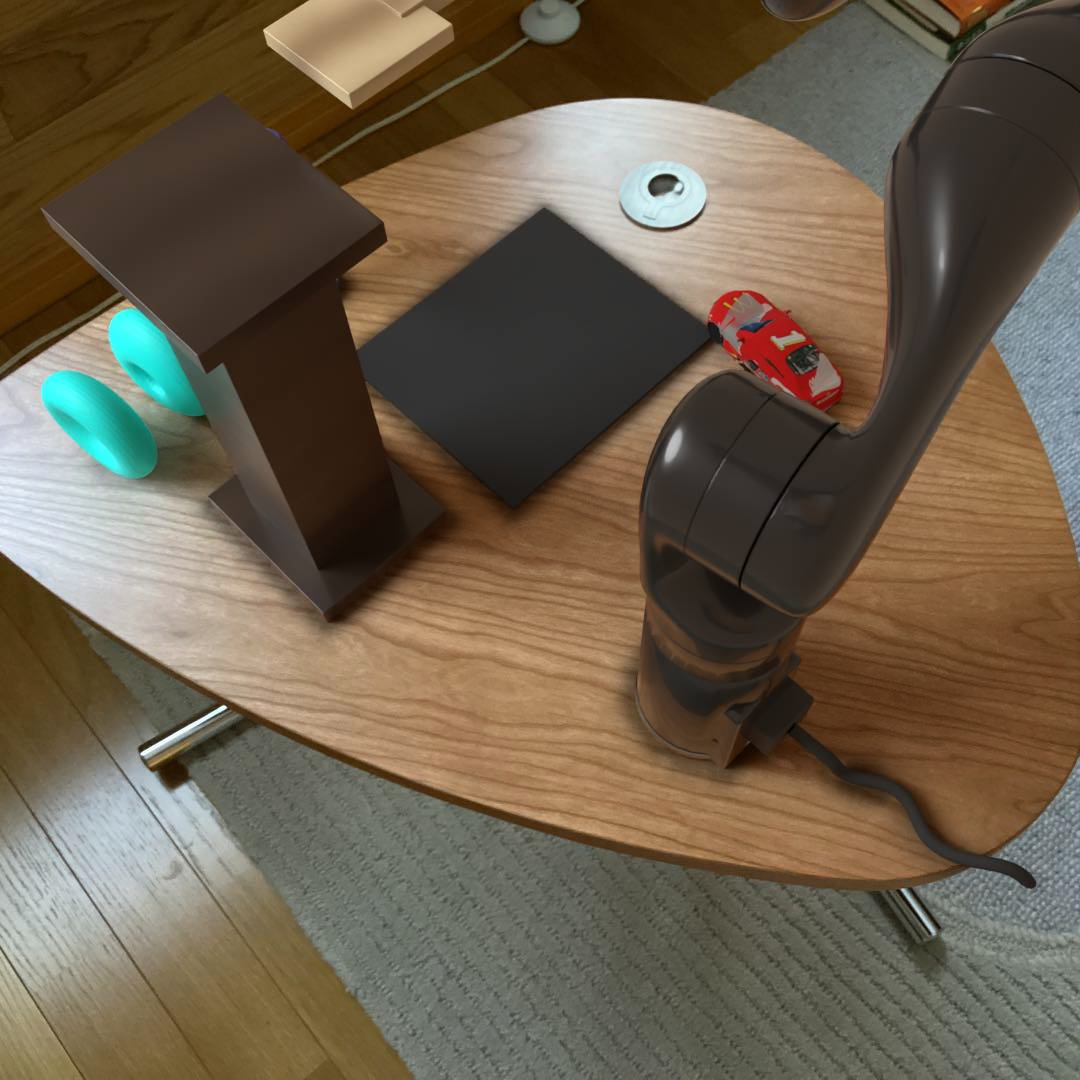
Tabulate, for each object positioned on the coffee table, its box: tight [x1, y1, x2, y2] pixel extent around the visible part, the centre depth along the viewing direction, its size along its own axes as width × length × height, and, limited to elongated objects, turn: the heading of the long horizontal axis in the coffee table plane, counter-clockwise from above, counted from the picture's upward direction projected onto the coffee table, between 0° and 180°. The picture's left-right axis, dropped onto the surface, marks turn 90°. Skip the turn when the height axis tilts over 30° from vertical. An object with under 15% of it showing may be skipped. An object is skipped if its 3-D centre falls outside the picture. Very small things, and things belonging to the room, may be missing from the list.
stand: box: [40, 91, 449, 623], centre depth 75 cm, size 14×12×32 cm
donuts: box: [40, 307, 206, 480], centre depth 89 cm, size 10×10×10 cm
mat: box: [356, 206, 713, 511], centre depth 95 cm, size 20×23×1 cm
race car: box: [706, 289, 845, 413], centre depth 92 cm, size 13×5×4 cm, turn 33°
